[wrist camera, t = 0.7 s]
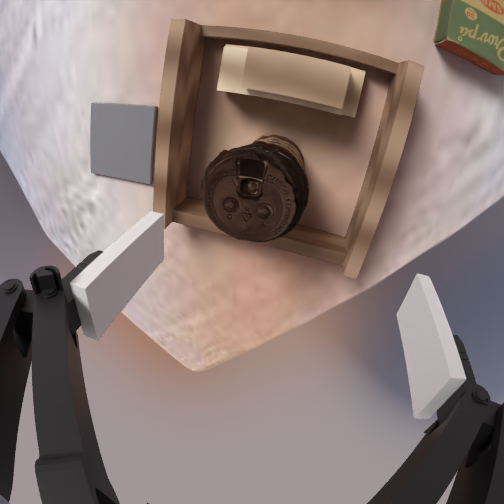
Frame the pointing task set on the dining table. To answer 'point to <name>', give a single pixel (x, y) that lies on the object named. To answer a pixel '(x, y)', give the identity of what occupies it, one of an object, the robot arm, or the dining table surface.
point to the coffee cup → (256, 189)
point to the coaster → (123, 140)
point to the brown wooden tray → (182, 122)
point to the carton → (473, 31)
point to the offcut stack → (291, 78)
